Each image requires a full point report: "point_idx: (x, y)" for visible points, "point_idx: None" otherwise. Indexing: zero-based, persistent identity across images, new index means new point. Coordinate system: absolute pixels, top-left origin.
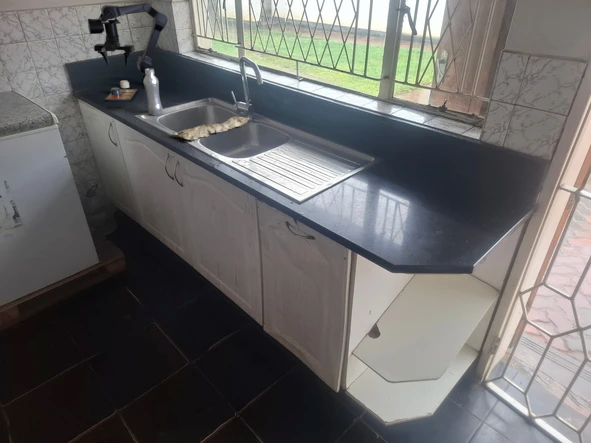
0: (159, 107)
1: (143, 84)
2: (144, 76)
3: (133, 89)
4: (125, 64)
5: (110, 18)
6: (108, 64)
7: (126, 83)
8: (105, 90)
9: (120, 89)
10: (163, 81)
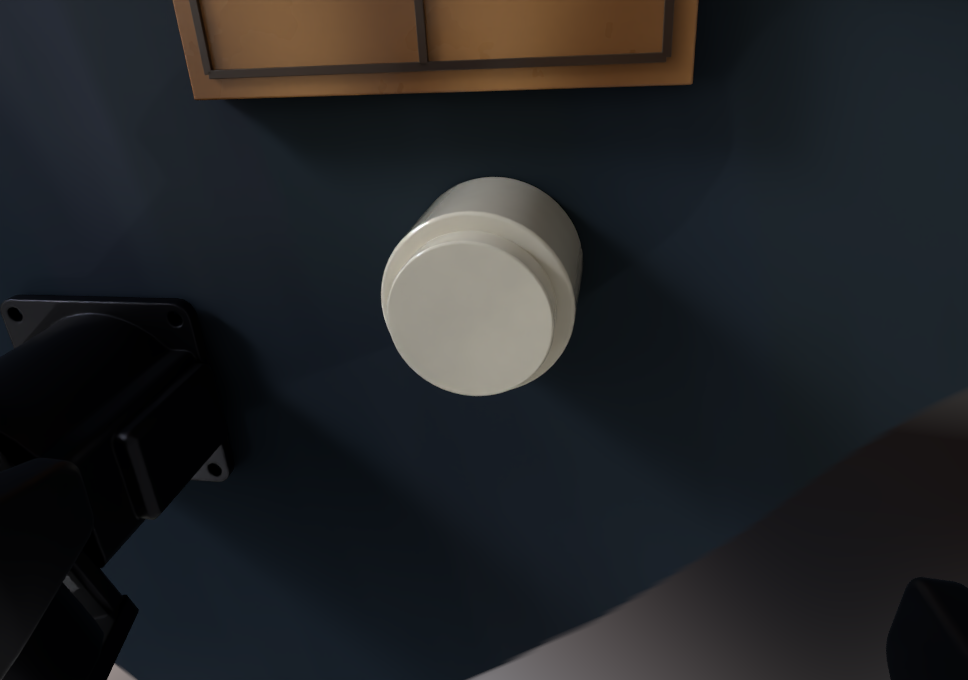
0: None
1: (184, 374)
2: (29, 440)
3: (258, 69)
4: (22, 492)
5: None
6: (918, 623)
7: (409, 248)
8: (903, 124)
9: (534, 58)
10: None
